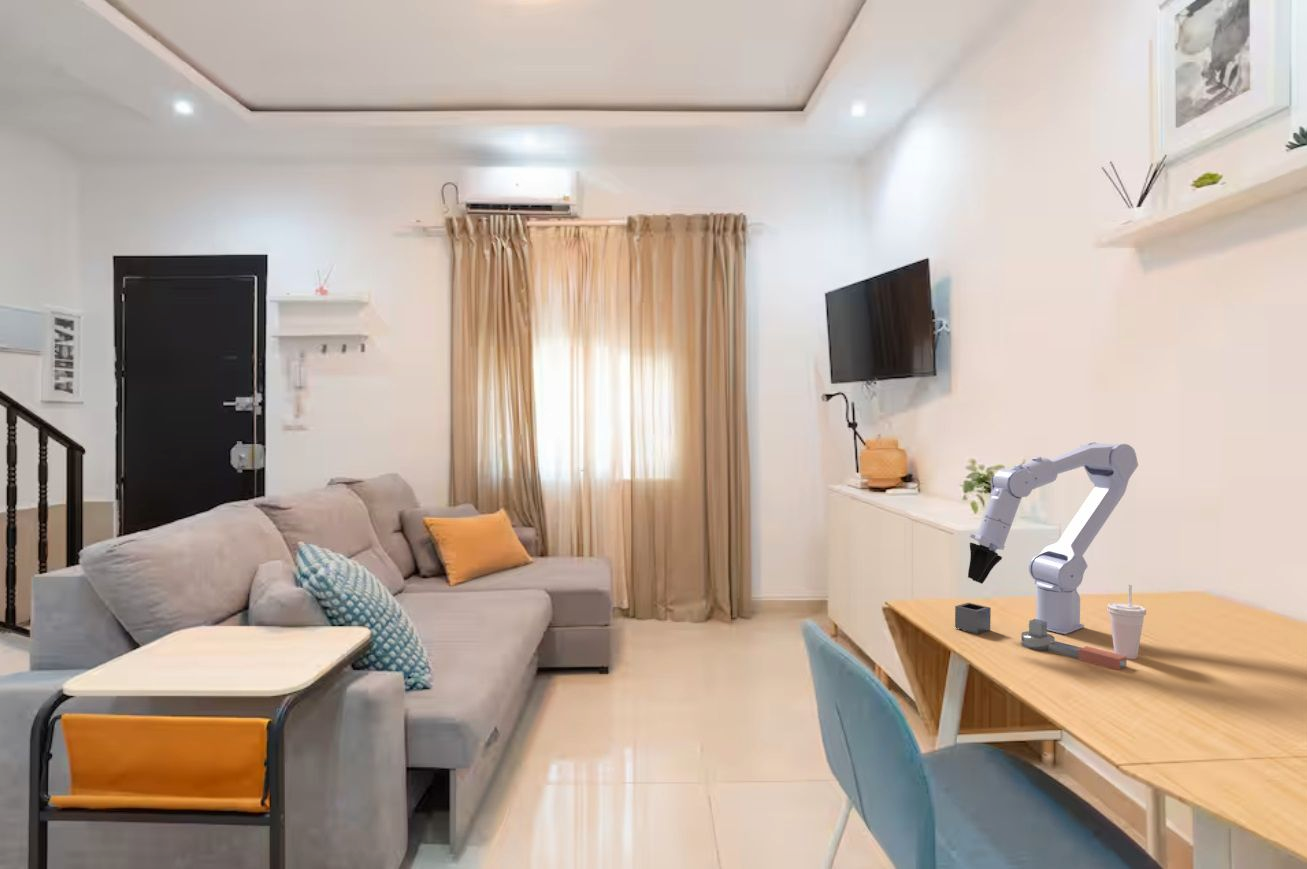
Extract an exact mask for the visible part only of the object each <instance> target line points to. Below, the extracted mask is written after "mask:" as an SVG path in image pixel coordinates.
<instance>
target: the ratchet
mask: <svg viewBox="0 0 1307 869" xmlns="http://www.w3.org/2000/svg"><path fill="white" fill-rule="evenodd" d="M1028 624H1029V625H1028V631H1023V632H1021V633H1020V634H1021V640H1020V642H1021V643H1020V644H1021V646H1022V647H1024V648H1026V649H1028V650H1031V651H1032V650H1033V651H1037V652H1038V651H1039V652H1051V653H1054V654H1058V655H1060V656H1061V655H1063V656H1066V657H1070V658H1074V659H1077V660H1079V661H1084V662H1088V663H1090V664H1095V665H1097V666H1098V665H1099V666H1102V667H1107V668H1110V669H1115V670H1118V671H1120V670H1121V669H1124V668H1126V667H1127V663H1128V662H1127V656H1125V655H1120V654H1116V653H1114V652H1113V651H1112V652H1111V651H1108V650H1104V649H1099V648H1095V647H1092V646H1084V647H1082V646H1077V645H1072V644H1069V643H1065V642H1061V641H1056V639H1055V638H1056V637H1055V635H1052V634H1049V633H1048V630H1047V622H1046V621H1042V620H1038V619H1036V618H1034V619H1030V620H1029V621H1028Z"/></svg>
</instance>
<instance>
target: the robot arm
mask: <svg viewBox="0 0 1307 869" xmlns="http://www.w3.org/2000/svg"><path fill="white" fill-rule="evenodd" d="M1031 460H1032V461H1028V462H1026V463H1023V464H1018V463H1017V464H1015V465H1013V466H1014V467H1013V468H1011V469H1004V468H1003V469H1000V470H998V471H997V472H996V473H995V474H994V475H993V476H990V487H991V490H990V492H989V493H990V494H989V496H990V498H989V500H988V503H987V506H986V509H985V512H984V514H983V517H982V520H981V522H980V525H979V528H978V531H977V533H976V535H974V534H972V533H971V534H970V535H969V538H970V539H973V540H974V541H977V542H978V544H977V543H974V542H969V550H970V559H969V566H968V573H967V578H968V579H972V581H973V582H976V583H979V584H983V583H984V582H985V581H986V579H987V578H988V576H989V575H990V573H991V571H992V570H993V569H994V567H995V566H996V565H998V563H999V562H1001V561H1002V559H1003V557H1002V556H1001V555H999V553H998V552H997V550H1002V551H1004V550H1005V547H1006V546H1005V543H1006V541H1007V538H1008V536H1009V533H1010V531H1011V528H1012V525H1013V522H1014V519H1015V517H1016V514H1017V512H1018V509H1019V506H1020V503H1021V501H1022V498H1027V497H1028V496H1030V495H1031V493H1032V491H1033V490H1035V489H1038V488H1040V487H1044V486H1046V485H1048V484H1051V483H1053V482H1055V481H1056V480H1057V478H1058V475H1059V474H1062V473H1066V472H1069V471H1072V470H1076V469H1078V468H1081V467H1083V468H1084V470H1085V472H1086V474H1087V476H1088V478H1089V480H1090V482H1091V483H1092V484H1093V486H1094V487H1093V489H1092V491H1091V492H1090V494H1089V495H1088V497H1087V498H1086V499H1085V501H1084V502H1083V504H1082V505H1081V507H1080V509H1079V510H1078V511H1077V513H1076V514H1075V515H1074V517H1073V519H1072V520H1071V521H1070V523H1069V525H1068V526H1067V528H1066V529H1065V530H1064V532H1063V533H1062V534H1061V536H1060V537H1059V539H1058V541H1057V542H1055V543H1052V544H1049V545H1047V546H1045V547H1044V548H1043V549H1042V551H1040V552H1039V553H1038V554H1036V555H1034V556H1033V557H1032V559H1031V560H1030V561H1029V566H1028V572H1029V574H1030V576H1031V578H1032V579H1033V580H1034V584H1035V585H1036V607H1035V608H1036V613H1035V615H1036V616H1035V619H1038V620H1042V621H1046V622H1047V631H1049V632H1054V633H1057V634H1063V635H1068V634H1069V633H1072V632H1075V631H1078V630H1080V629H1082V628H1085V624H1082V623H1081V597H1080V594H1079V592H1078V590H1077V588H1078V587H1079V586H1081V584H1082V582H1083V578H1084V574H1085V572H1086V570H1087V568H1088V564H1087V561H1086V560H1085V558H1084V554H1085V553H1086V552H1087V550H1088V548H1089V547H1090V545H1091V544H1092V543H1093V541H1094V540H1095V538H1096V537H1097V535H1098V534H1099V532H1100V530H1101V529H1102V528H1103V526H1104V524H1106V521H1107V520H1108V519H1109V518H1110V515H1111V514H1112V513H1113V512H1114V510H1115V508H1116V507H1117V505H1118V504H1119V502H1120V501H1121V499H1122V498H1123V497H1124V495H1125V493H1126V491H1127V487H1128V483H1129V480H1130V478H1131V477H1132V475H1133V474H1134V472H1135V471H1136V470H1137V468H1138V466H1139V462H1138V458H1137V454H1136V451H1135V448H1133V446H1131V445H1130V444H1128V443H1120V444H1119V443H1099V442H1098V443H1097V442H1089V443H1086V444H1082V445H1081V444H1080V445H1079V446H1078V447H1077V448H1075V449H1072V450H1071V451H1068V452H1066V453H1063V454H1061V455H1059V456H1057V457H1054V458H1051V459H1049V458H1046V457H1042V456H1034V457H1032V458H1031ZM1027 626H1029V623H1027Z"/></svg>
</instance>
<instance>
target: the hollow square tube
mask: <svg viewBox="0 0 1307 869" xmlns="http://www.w3.org/2000/svg"><path fill="white" fill-rule="evenodd" d="M954 607H955V608H954V618H955V619H954V628H955V627H956V628H959V629H962V630H965V631H964V632H966V631H969V632H968V633H970V632H972V633H971V634H974V633H975V634H974V635H980V634H983V633H986V632H989V631H991V618H992V617H991V613H992V611H991V609H992V607H989V606H985V605H980V604H976V603H972V602H965V603H962V604H958V605H954ZM962 630H961V631H962ZM988 630H989V631H988ZM985 631H986V632H985Z"/></svg>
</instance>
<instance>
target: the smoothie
mask: <svg viewBox="0 0 1307 869" xmlns="http://www.w3.org/2000/svg"><path fill="white" fill-rule="evenodd" d="M1127 588H1128V591H1127V592H1128V594H1127V596H1128V597H1127V603H1125V602H1109V603H1108V604H1107V608H1106V609H1107V611H1108V612H1109V620H1110V628H1111V636H1112V644H1113V653H1116V654H1120V655H1125V656H1127V659H1128V660H1135V659H1138V655H1139V649H1140V648H1139V647H1140V642H1141V638H1142V637H1141V636H1142V630H1143V624H1144V618H1145V616H1147V609H1146V607H1144V606H1141V605H1136V604H1132V599H1133V598H1132V596H1133V595H1132V594H1133V593H1132V592H1133V590H1132V589H1133V585H1132V584H1128V587H1127Z"/></svg>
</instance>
